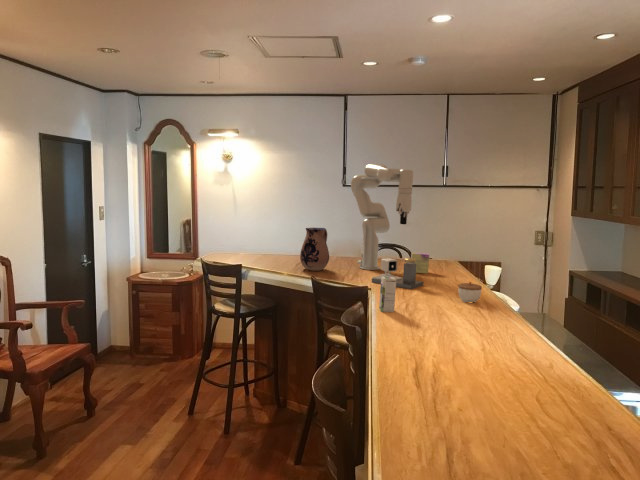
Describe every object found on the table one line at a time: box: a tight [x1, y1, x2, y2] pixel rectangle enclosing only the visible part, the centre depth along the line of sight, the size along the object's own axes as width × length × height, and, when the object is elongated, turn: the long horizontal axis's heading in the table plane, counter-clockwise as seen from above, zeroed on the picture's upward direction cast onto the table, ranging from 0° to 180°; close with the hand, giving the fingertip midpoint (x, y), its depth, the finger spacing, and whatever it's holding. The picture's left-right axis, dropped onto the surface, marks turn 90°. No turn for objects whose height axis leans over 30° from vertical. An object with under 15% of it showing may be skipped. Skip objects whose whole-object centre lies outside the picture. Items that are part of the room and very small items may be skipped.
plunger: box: [404, 257, 416, 264], centre depth 276 cm, size 6×6×12 cm
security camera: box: [380, 257, 398, 277], centre depth 284 cm, size 6×7×10 cm
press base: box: [371, 262, 424, 290], centre depth 280 cm, size 24×14×12 cm, turn 53°
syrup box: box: [378, 276, 397, 313], centre depth 224 cm, size 6×6×14 cm
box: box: [410, 252, 430, 274], centre depth 316 cm, size 10×6×12 cm, turn 84°
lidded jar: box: [457, 281, 483, 303], centre depth 246 cm, size 11×11×9 cm
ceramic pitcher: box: [299, 227, 330, 272], centre depth 313 cm, size 18×21×25 cm
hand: (403, 224), depth 294 cm, fingers closed
